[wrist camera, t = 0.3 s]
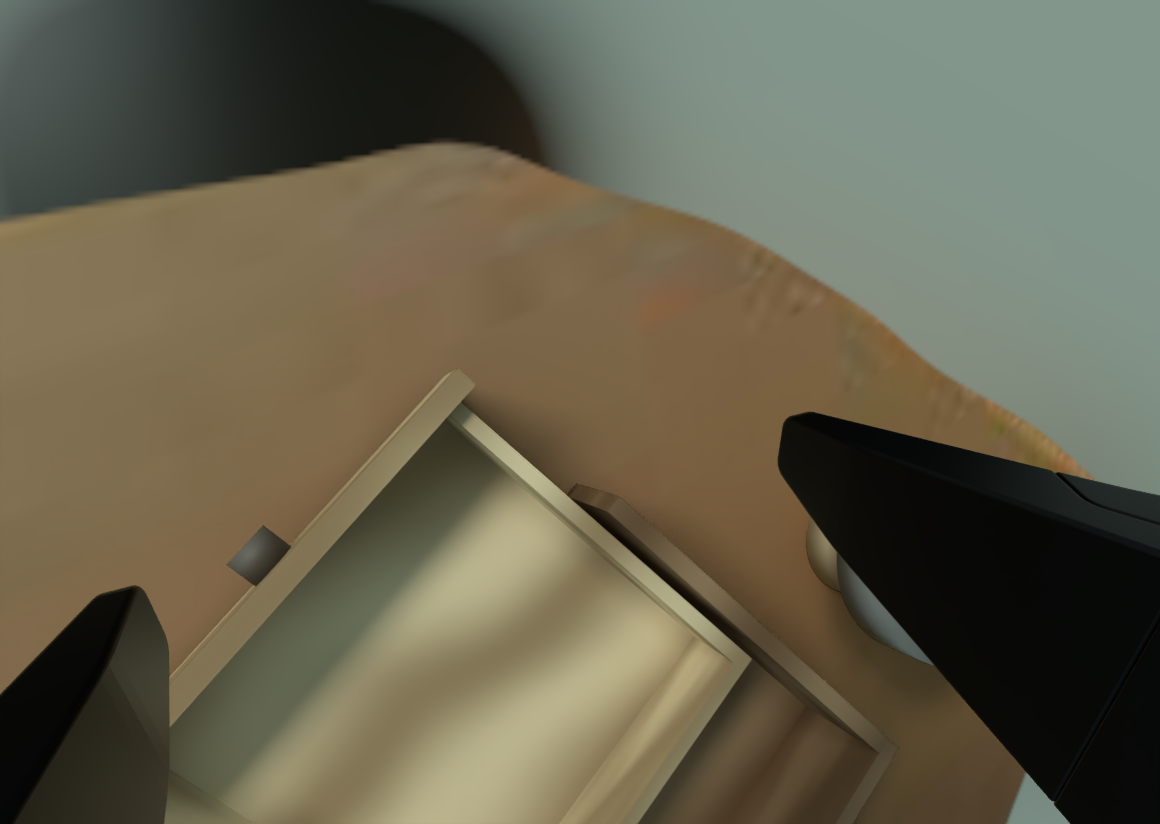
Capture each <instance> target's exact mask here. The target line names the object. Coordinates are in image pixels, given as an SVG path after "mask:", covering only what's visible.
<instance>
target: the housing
mask: <svg viewBox="0 0 1160 824" xmlns="http://www.w3.org/2000/svg"><path fill="white" fill-rule="evenodd" d="M567 496H568V497H569V498H570V499H571V500H572V501H574V502H575V503H576V504H577V505H578V506H579V507H580V508H581V509H583V510H584V511H585V512H586V513H587V514H588V515H589V516H591V517H592V518H593V519H594V520H595V521H596V522H597V523H598V524H600V525H601V526H602V527H603V528H604V529H605V530H606V531H608V532H609V533H610V534H611V535H612V536H613V537H614V538H615V539H617V540H618V541H619V542H620V543H621V544H622V545H623V546H625V547H626V548H627V549H628V550H629V551H630V552H631V553H632V554H634V555H635V556H636V557H637V558H638V559H639V560H640V561H642V562H643V563H644V564H645V565H646V566H647V567H648V568H649V569H651V570H652V571H653V572H654V573H655V574H656V575H657V576H659V577H660V578H661V579H662V580H663V581H664V582H665V583H666V584H668V585H669V586H670V587H671V588H672V589H673V590H674V591H676V592H677V593H678V594H679V595H680V596H681V597H682V598H683V599H685V600H686V601H687V602H688V603H689V604H690V605H691V606H693V607H694V608H695V609H696V610H697V611H698V612H699V613H700V614H702V615H703V616H704V617H705V618H706V619H707V620H708V621H710V622H711V623H712V624H713V625H714V626H715V627H716V628H717V629H719V630H720V631H721V632H722V633H723V634H724V635H725V636H727V637H728V638H729V639H730V640H731V641H732V642H733V643H734V644H736V645H737V646H738V647H739V648H740V649H741V650H742V651H744V652H745V653H746V654H747V655H748V656H749V657H750V658H751V659H752V660H751V661H750V662H749V664H748V665H747V667H746V668H745V670H744V671H743V673H742V674H741V675H740V677H739V678H738V680H737V681H736V683H735V684H734V685H733V687H732V688H731V690H730V691H729V693H728V694H727V696H726V697H725V698H724V700H723V701H722V703H721V704H720V706H719V707H718V709H717V710H716V711H715V713H714V714H713V716H712V717H711V719H710V720H709V721H708V723H707V724H706V726H705V727H704V729H703V730H702V732H701V733H700V734H699V736H698V737H697V739H696V740H695V742H694V743H693V745H692V746H691V747H690V749H689V750H688V752H687V753H686V755H685V756H684V758H683V759H682V760H681V762H680V763H679V765H678V766H677V768H676V769H675V770H674V772H673V773H672V775H671V776H670V778H669V779H668V781H667V782H666V783H665V785H664V786H663V788H662V789H661V791H660V792H659V794H658V795H657V796H656V798H655V799H654V801H653V802H652V804H651V805H650V806H649V808H648V809H647V811H646V812H645V814H644V815H643V817H642V818H641V819H640V821H639V822H638V824H853V822H854V820H855V819H856V817H857V816H858V814H859V812H860V811H861V809H862V807H863V806H864V804H865V803H866V801H867V799H868V798H869V796H870V794H871V793H872V791H873V790H874V788H875V786H876V785H877V783H878V781H879V780H880V778H881V777H882V775H883V773H884V772H885V770H886V769H887V767H888V765H889V764H890V762H891V760H892V759H893V757H894V756H895V754H896V752H897V751H898V749H899V748H898V747H897V746H896V745H895V744H894V743H892V742H891V741H890V740H889V739H888V738H887V737H886V736H885V735H884V734H883V733H881V732H880V731H879V730H878V729H877V728H876V727H875V726H874V725H873V724H871V723H870V722H869V721H868V720H867V719H866V718H865V717H864V716H863V715H861V714H860V713H859V712H858V711H857V710H856V709H855V708H854V707H853V706H852V705H850V704H849V703H848V702H847V701H846V700H845V699H844V698H843V697H842V696H840V695H839V694H838V693H837V692H836V691H835V690H834V689H833V688H832V687H831V686H829V685H828V684H827V683H826V682H825V681H824V680H823V679H822V678H821V677H819V676H818V675H817V674H816V673H815V672H814V671H813V670H812V669H811V668H809V667H808V666H807V665H806V664H805V663H804V662H803V661H802V660H801V659H800V658H798V657H797V656H796V655H795V654H794V653H793V652H792V651H791V650H790V649H788V648H787V647H786V646H785V645H784V644H783V643H782V642H781V641H780V640H779V639H777V638H776V637H775V636H774V635H773V634H772V633H771V632H770V631H769V630H767V629H766V628H765V627H764V626H763V625H762V624H761V623H760V622H759V621H757V620H756V619H755V618H754V617H753V616H752V615H751V614H750V613H749V612H748V611H746V610H745V609H744V608H743V607H742V606H741V605H740V604H739V603H738V602H736V601H735V600H734V599H733V598H732V597H731V596H730V595H729V594H728V593H727V592H725V591H724V590H723V589H722V588H721V587H720V586H719V585H718V584H717V583H715V582H714V581H713V580H712V579H711V578H710V577H709V576H708V575H707V574H705V573H704V572H703V571H702V570H701V569H700V568H699V567H698V566H697V565H696V564H694V563H693V562H692V561H691V560H690V559H689V558H688V557H687V556H686V555H684V554H683V553H682V552H681V551H680V550H679V549H678V548H677V547H676V546H675V545H673V544H672V543H671V542H670V541H669V540H668V539H667V538H666V537H665V536H663V535H662V534H661V533H660V532H659V531H658V530H657V529H656V528H655V527H653V526H652V525H651V524H650V523H649V522H648V521H647V520H646V519H645V518H644V517H642V516H641V515H640V514H639V513H638V512H637V511H636V510H635V509H634V508H632V507H631V506H630V505H629V504H628V503H627V502H626V501H625V500H624V499H623V498H621V497H620V496H617V495H614V494H610V493H607V492H603V491H600V490H597V489H593V488H590V487H587V486H583V485H580V484H576V485H575V486H574V487H573V488H572V490H571V491H570V492H569V493H568V494H567Z"/></svg>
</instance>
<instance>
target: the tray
mask: <svg viewBox="0 0 1160 824" xmlns="http://www.w3.org/2000/svg"><path fill="white" fill-rule="evenodd" d="M475 385H476V384H475V383H474V382H473V381H471V380H470V379H469V378H468V377H467V376H466V375H465V374H464V373H462V372H461V371H460V370H459V369H458V368H457V369H456V370H454V371H452V372H450V373H449V374H447V375H445V376H444V377H442V378H441V380H440V381H439V382H438V383H437V384H436V385H435V386H434V387H433V388H432V389H431V390H430V392H429V393H428V394H427V395H426V396H425V397H424V398H423V399H422V400H421V401H420V403H419V404H418V405H417V406H416V407H415V408H414V409H413V410H412V411H411V412H410V414H409V415H408V416H407V417H406V418H405V419H404V420H403V421H402V422H401V423H400V425H399V426H398V427H397V428H396V429H395V430H394V431H393V432H392V433H391V434H390V436H389V437H388V438H387V439H386V440H385V441H384V442H383V443H382V444H381V445H380V446H379V448H378V449H377V450H376V451H375V452H374V453H373V454H372V455H371V456H370V457H369V459H368V460H367V461H366V462H365V463H364V464H363V465H362V466H361V467H360V468H359V470H358V471H357V472H356V473H355V474H354V475H353V476H352V477H351V478H350V479H349V481H348V482H347V483H346V484H345V485H344V486H343V487H342V488H341V489H340V490H339V491H338V493H337V494H336V495H335V496H334V497H333V498H332V499H331V500H330V501H329V502H328V504H327V505H326V506H325V507H324V508H323V509H322V510H321V511H320V512H319V513H318V515H317V516H316V517H315V518H314V519H313V520H312V521H311V522H310V523H309V524H308V526H307V527H306V528H305V529H304V530H303V531H302V532H301V533H300V534H299V535H298V536H297V538H296V539H295V540H294V541H293V542H292V543H291V544H290V545H288V544H287V543H286V542H285V541H283V540H282V539H281V538H279V537H278V536H277V535H275V534H274V533H273V532H271V531H270V530H269V529H267V528H266V527H265V526H264V525H263V526H262V527H261V528H260V529H259V530H258V531H257V533H256V534H255V535H254V536H253V537H252V538H251V539H250V540H249V541H248V542H247V543H246V544H245V545H244V546H243V548H242V549H241V550H240V551H239V552H238V553H237V554H236V555H235V556H234V557H233V558H232V559H231V561H230V562H229V563H228V564H227V566H229V567H230V568H231V569H233V570H234V571H235V572H237V573H238V574H239V575H241V576H242V577H244V578H245V579H246V580H248V581H249V582H250V583H252V584H253V586H252V587H251V588H250V589H249V590H248V591H247V592H246V594H245V595H244V596H243V597H242V598H241V599H240V600H239V601H238V602H237V603H236V605H235V606H234V607H233V608H232V609H231V610H230V611H229V612H228V613H227V614H226V616H225V617H224V618H223V619H222V620H221V621H220V622H219V623H218V624H217V625H216V627H215V628H214V629H213V630H212V631H211V632H210V633H209V634H208V635H207V636H206V637H205V639H204V640H203V641H202V642H201V643H200V644H199V645H198V646H197V647H196V648H195V650H194V651H193V652H192V653H191V654H190V655H189V656H188V657H187V658H186V659H185V661H184V662H183V663H182V664H181V665H180V666H179V667H178V668H177V669H176V670H175V672H174V673H173V674H172V675H171V676H170V677H169V711H170V775H169V786H168V797H167V805H166V814H165V822H164V824H638V822H639V821H640V819H641V818H642V817H643V815H644V814H645V812H646V811H647V809H648V808H649V806H650V805H651V804H652V802H653V801H654V799H655V798H656V796H657V795H658V794H659V792H660V791H661V789H662V788H663V786H664V785H665V783H666V782H667V781H668V779H669V778H670V776H671V775H672V773H673V772H674V770H675V769H676V768H677V766H678V765H679V763H680V762H681V760H682V759H683V758H684V756H685V755H686V753H687V752H688V750H689V749H690V747H691V746H692V745H693V743H694V742H695V740H696V739H697V737H698V736H699V734H700V733H701V732H702V730H703V729H704V727H705V726H706V724H707V723H708V721H709V720H710V719H711V717H712V716H713V714H714V713H715V711H716V710H717V709H718V707H719V706H720V704H721V703H722V701H723V700H724V698H725V697H726V696H727V694H728V693H729V691H730V690H731V688H732V687H733V685H734V684H735V683H736V681H737V680H738V678H739V677H740V675H741V674H742V673H743V671H744V670H745V668H746V667H747V665H748V664H749V662H750V661H751V660H752V659H751V658H750V657H749V656H748V655H747V654H746V653H745V652H744V651H742V650H741V649H740V648H739V647H738V646H737V645H736V644H734V643H733V642H732V641H731V640H730V639H729V638H728V637H727V636H725V635H724V634H723V633H722V632H721V631H720V630H719V629H717V628H716V627H715V626H714V625H713V624H712V623H711V622H710V621H708V620H707V619H706V618H705V617H704V616H703V615H702V614H700V613H699V612H698V611H697V610H696V609H695V608H694V607H693V606H691V605H690V604H689V603H688V602H687V601H686V600H685V599H683V598H682V597H681V596H680V595H679V594H678V593H677V592H676V591H674V590H673V589H672V588H671V587H670V586H669V585H668V584H666V583H665V582H664V581H663V580H662V579H661V578H660V577H659V576H657V575H656V574H655V573H654V572H653V571H652V570H651V569H649V568H648V567H647V566H646V565H645V564H644V563H643V562H642V561H640V560H639V559H638V558H637V557H636V556H635V555H634V554H632V553H631V552H630V551H629V550H628V549H627V548H626V547H625V546H623V545H622V544H621V543H620V542H619V541H618V540H617V539H615V538H614V537H613V536H612V535H611V534H610V533H609V532H608V531H606V530H605V529H604V528H603V527H602V526H601V525H600V524H598V523H597V522H596V521H595V520H594V519H593V518H592V517H591V516H589V515H588V514H587V513H586V512H585V511H584V510H583V509H581V508H580V507H579V506H578V505H577V504H576V503H575V502H574V501H572V500H571V499H570V498H569V497H568V496H567V495H566V494H564V493H563V492H562V491H561V490H560V489H559V488H558V487H557V486H555V485H554V484H553V483H552V482H551V481H550V480H549V479H547V478H546V477H545V476H544V475H543V474H542V473H541V472H540V471H538V470H537V469H536V468H535V467H534V466H533V465H532V464H530V463H529V462H528V461H527V460H526V459H525V458H524V457H523V456H521V455H520V454H519V453H518V452H517V451H516V450H515V449H513V448H512V447H511V446H510V445H509V444H508V443H507V442H506V441H504V440H503V439H502V438H501V437H500V436H499V435H498V434H496V433H495V432H494V431H493V430H492V429H491V428H490V427H489V426H487V425H486V424H485V423H484V422H483V421H482V420H481V419H479V418H478V417H477V416H476V415H475V414H474V413H473V412H471V411H470V410H469V409H468V408H467V407H466V406H465V405H464V404H462V403H461V401H462V400H463V399H464V398H465V397H466V395H467V394H468V393H469V392H470V391H471V390H472V389H473V388H474V387H475Z"/></svg>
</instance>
